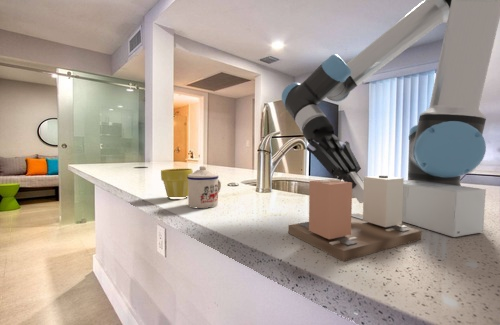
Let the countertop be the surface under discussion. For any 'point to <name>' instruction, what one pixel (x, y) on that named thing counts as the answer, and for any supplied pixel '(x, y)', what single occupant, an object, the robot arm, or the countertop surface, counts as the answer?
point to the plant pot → (176, 181)
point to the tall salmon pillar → (330, 208)
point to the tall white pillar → (383, 200)
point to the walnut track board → (357, 238)
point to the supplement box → (443, 207)
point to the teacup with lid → (203, 188)
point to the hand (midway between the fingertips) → (365, 199)
